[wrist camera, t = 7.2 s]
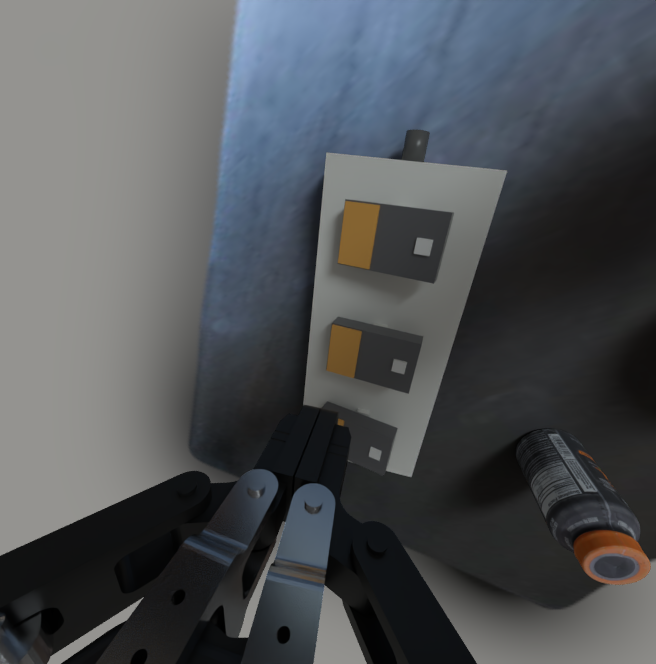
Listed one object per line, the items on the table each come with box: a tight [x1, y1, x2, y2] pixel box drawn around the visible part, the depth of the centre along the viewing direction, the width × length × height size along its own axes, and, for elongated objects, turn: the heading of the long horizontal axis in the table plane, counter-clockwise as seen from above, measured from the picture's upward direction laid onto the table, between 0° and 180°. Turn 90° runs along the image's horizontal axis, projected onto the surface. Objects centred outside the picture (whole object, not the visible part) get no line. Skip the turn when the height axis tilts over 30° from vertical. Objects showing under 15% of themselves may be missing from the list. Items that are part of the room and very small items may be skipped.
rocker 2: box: [326, 317, 423, 394], centre depth 25 cm, size 7×4×2 cm, turn 84°
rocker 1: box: [337, 199, 454, 284], centre depth 21 cm, size 7×4×2 cm, turn 84°
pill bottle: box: [516, 429, 651, 585], centre depth 26 cm, size 6×6×11 cm
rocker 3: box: [321, 401, 398, 476], centre depth 29 cm, size 7×4×2 cm, turn 84°
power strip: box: [303, 130, 507, 477], centre depth 28 cm, size 12×30×4 cm, turn 174°
